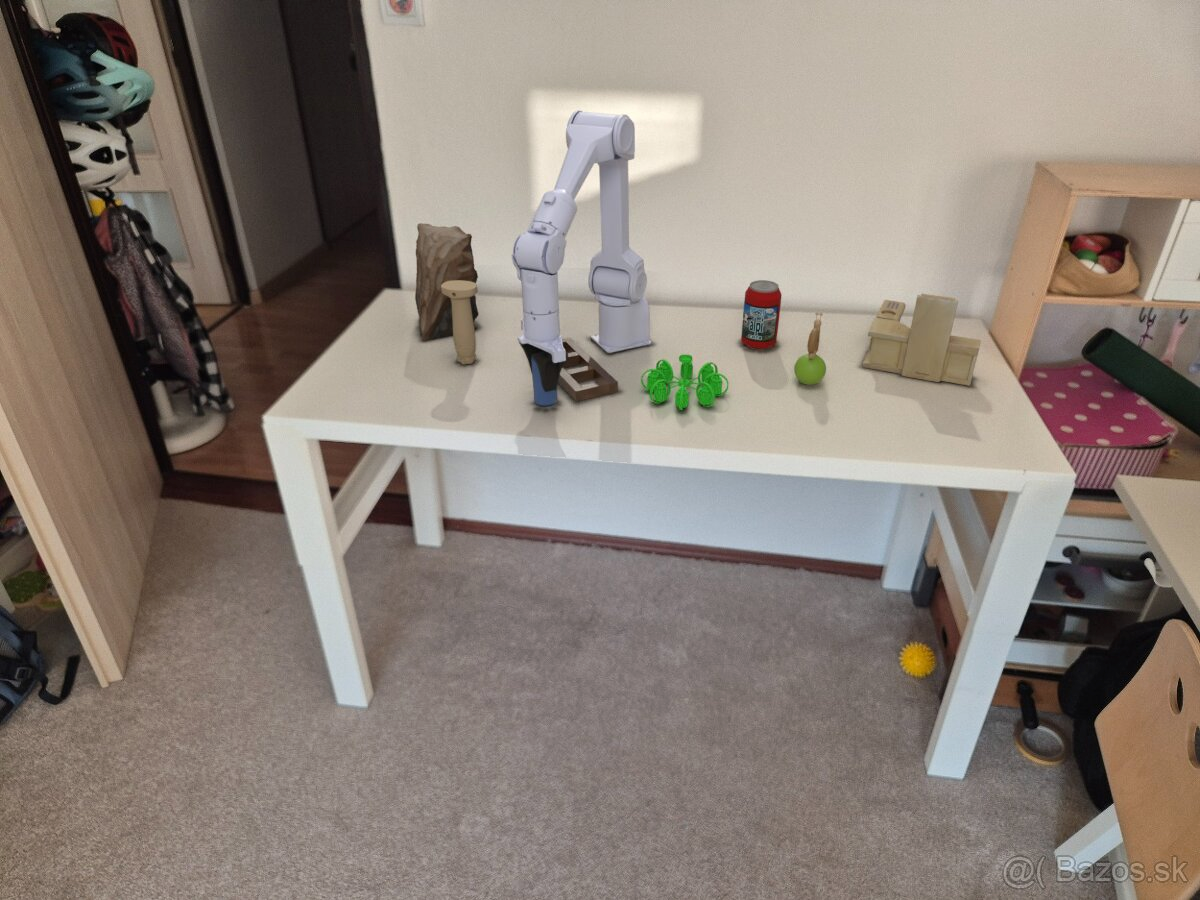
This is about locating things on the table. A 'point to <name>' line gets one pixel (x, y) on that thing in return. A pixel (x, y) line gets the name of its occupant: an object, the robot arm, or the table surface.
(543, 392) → the peg
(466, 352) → the handle
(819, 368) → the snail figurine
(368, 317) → the table surface
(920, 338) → the toy kitchen set
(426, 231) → the brown rock
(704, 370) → the chandelier
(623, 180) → the robot arm
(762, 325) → the beverage can
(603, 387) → the peg board
